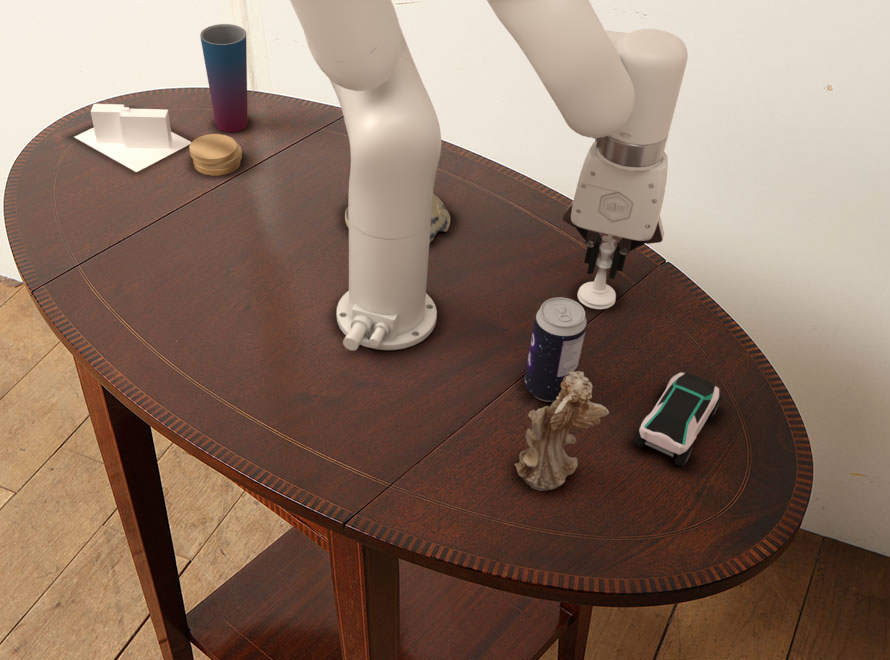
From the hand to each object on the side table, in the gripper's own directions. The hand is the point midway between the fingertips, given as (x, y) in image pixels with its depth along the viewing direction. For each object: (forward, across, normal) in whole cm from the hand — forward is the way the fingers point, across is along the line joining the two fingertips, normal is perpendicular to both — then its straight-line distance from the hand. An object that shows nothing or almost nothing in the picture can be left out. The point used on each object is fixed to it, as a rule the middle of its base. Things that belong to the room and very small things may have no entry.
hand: (602, 269), depth 125 cm
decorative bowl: (+5, -30, +7) cm, 31 cm away
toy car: (+5, +13, -20) cm, 24 cm away
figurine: (+5, +1, -32) cm, 32 cm away
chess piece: (+5, 0, 0) cm, 5 cm away
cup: (+5, -63, +21) cm, 67 cm away
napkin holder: (+5, -75, +11) cm, 76 cm away
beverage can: (+5, -2, -19) cm, 20 cm away
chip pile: (+5, -60, +10) cm, 61 cm away
